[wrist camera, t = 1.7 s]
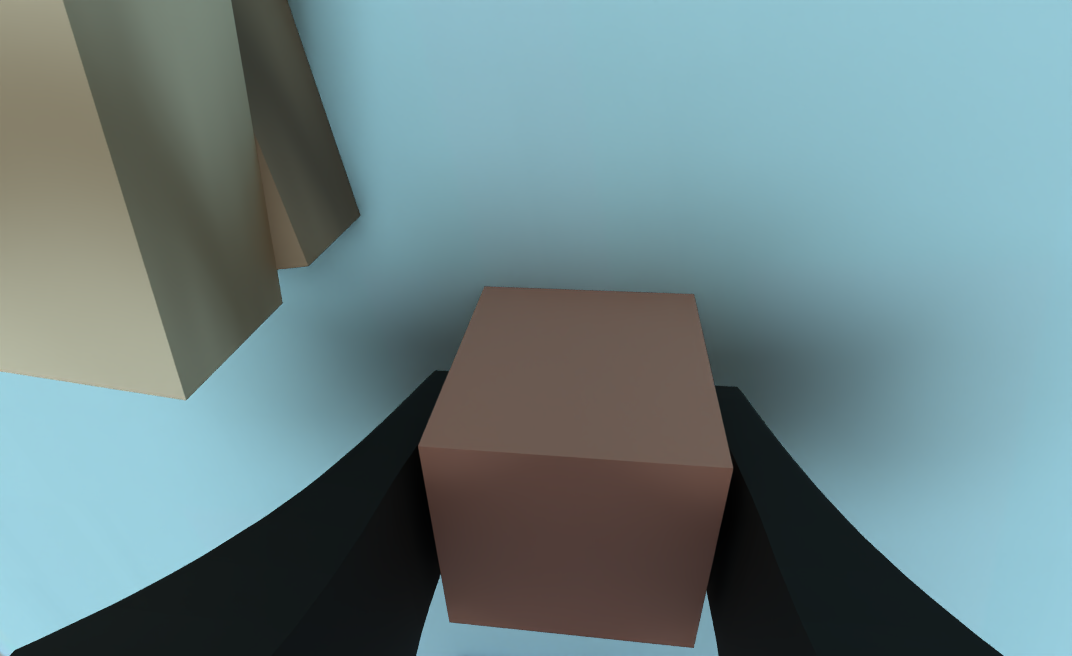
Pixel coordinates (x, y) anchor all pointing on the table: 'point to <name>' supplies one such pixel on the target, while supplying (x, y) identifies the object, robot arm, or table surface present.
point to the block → (578, 466)
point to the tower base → (291, 136)
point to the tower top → (128, 194)
